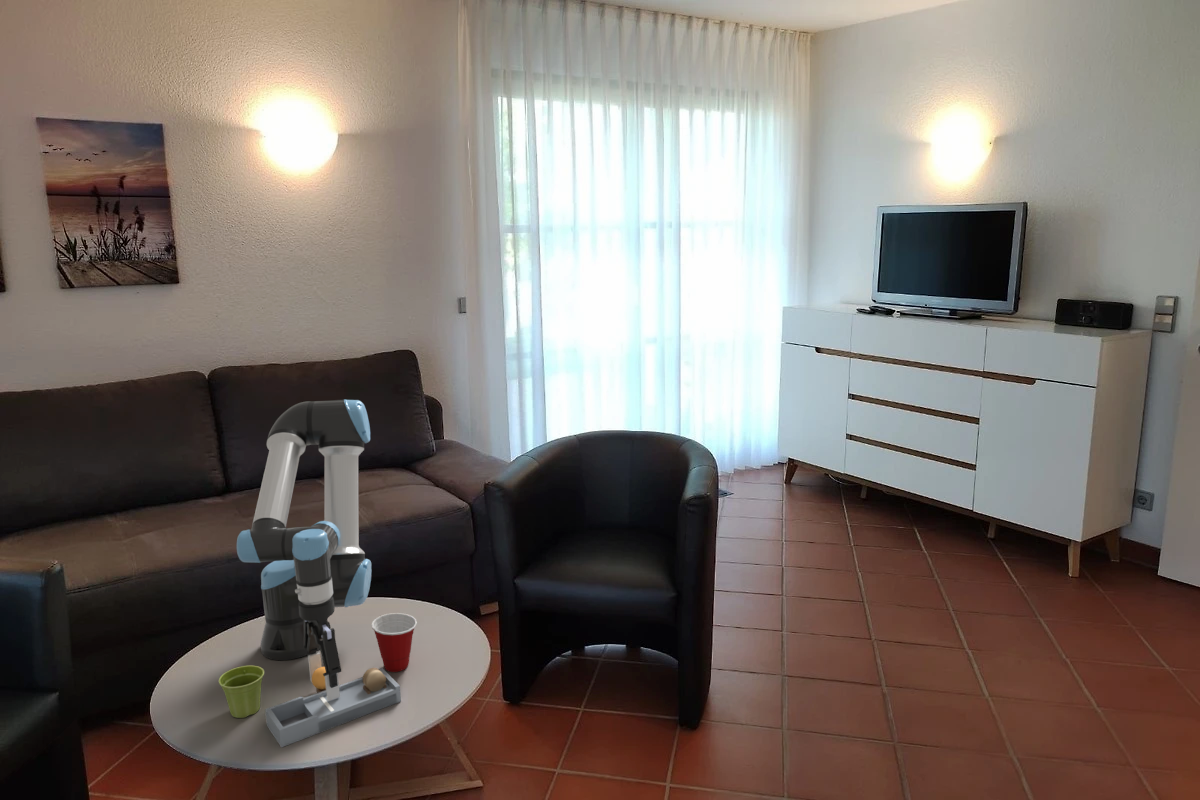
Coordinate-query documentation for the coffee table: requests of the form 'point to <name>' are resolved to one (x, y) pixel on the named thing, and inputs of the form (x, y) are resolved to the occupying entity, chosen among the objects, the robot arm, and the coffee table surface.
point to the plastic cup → (394, 639)
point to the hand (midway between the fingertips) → (324, 689)
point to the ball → (319, 678)
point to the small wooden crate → (319, 690)
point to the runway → (327, 710)
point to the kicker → (373, 680)
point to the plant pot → (242, 689)
